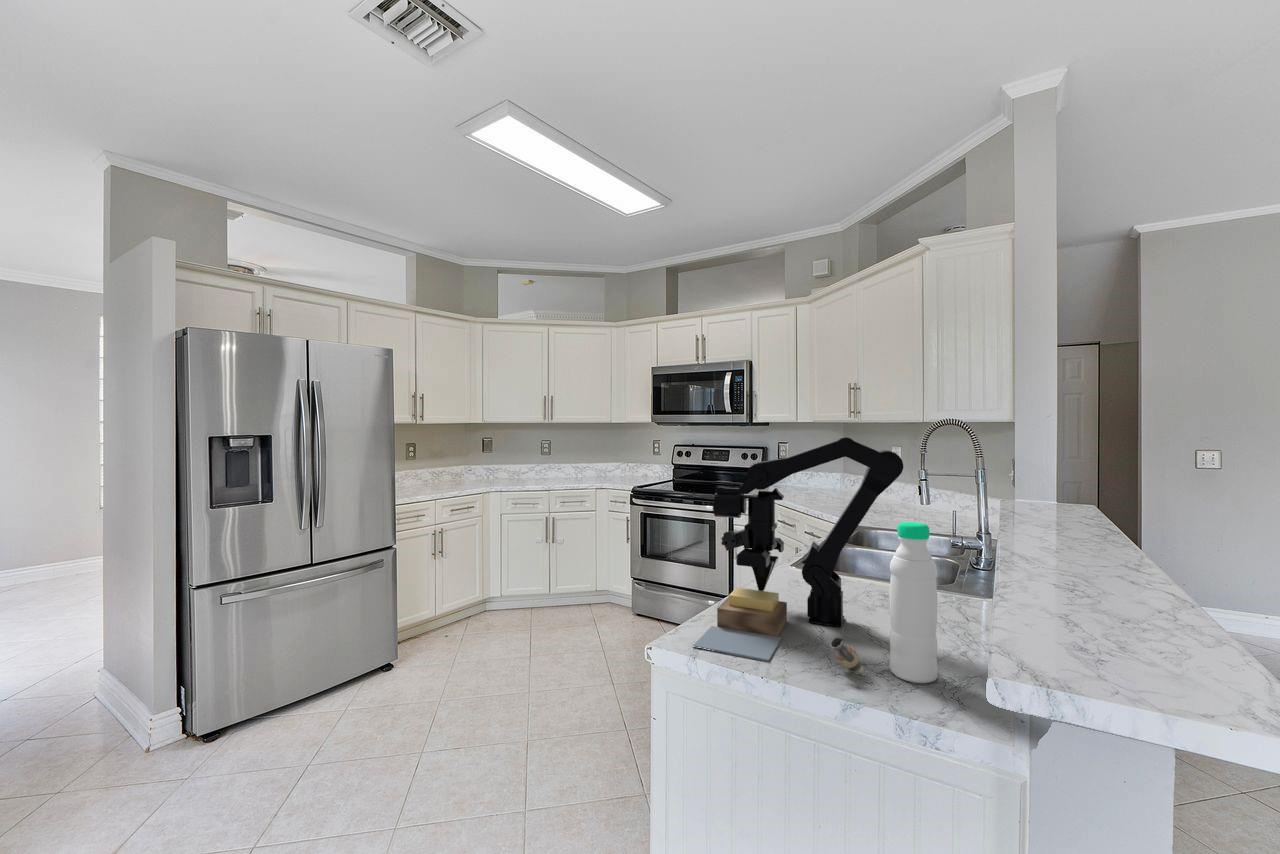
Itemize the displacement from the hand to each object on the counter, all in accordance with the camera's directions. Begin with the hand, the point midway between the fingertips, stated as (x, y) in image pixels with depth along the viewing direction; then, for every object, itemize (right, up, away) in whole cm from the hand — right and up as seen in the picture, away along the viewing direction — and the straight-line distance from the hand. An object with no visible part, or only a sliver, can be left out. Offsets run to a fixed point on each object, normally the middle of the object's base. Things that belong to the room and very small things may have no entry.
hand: (761, 590), depth 119 cm
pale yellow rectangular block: (-3, -1, -6) cm, 7 cm away
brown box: (-3, -5, -7) cm, 9 cm away
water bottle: (+18, -5, -30) cm, 35 cm away
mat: (-8, -5, -17) cm, 19 cm away
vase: (+8, -5, -29) cm, 30 cm away
